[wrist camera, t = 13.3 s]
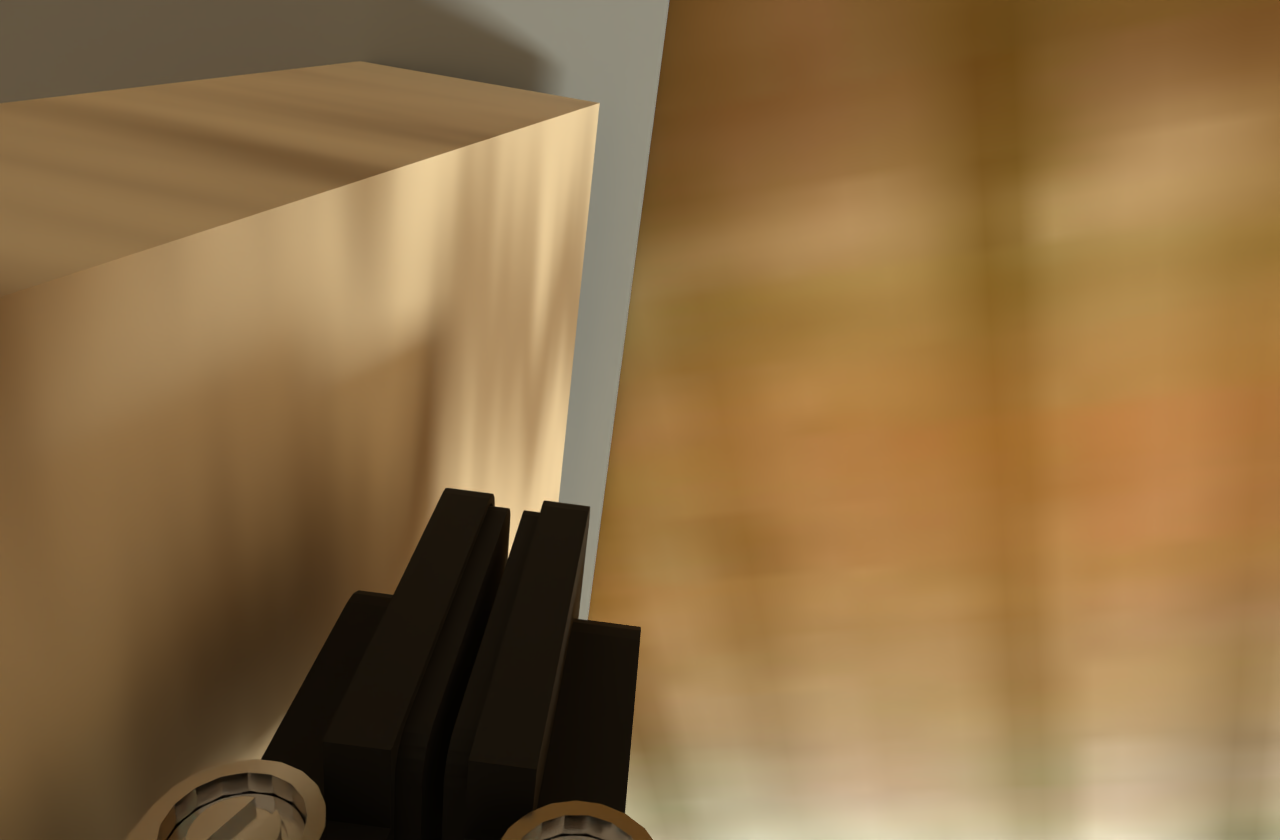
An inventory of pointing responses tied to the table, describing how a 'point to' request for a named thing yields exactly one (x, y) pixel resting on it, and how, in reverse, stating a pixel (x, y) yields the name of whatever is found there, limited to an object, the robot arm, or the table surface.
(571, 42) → the mat
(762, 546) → the table surface
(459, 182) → the slab
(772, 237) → the table surface
